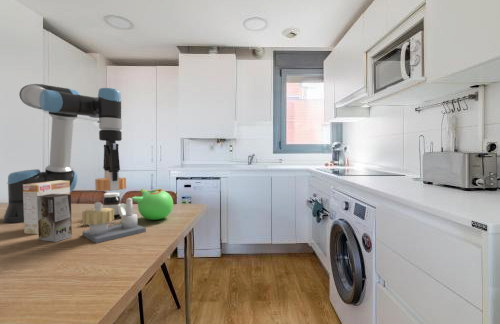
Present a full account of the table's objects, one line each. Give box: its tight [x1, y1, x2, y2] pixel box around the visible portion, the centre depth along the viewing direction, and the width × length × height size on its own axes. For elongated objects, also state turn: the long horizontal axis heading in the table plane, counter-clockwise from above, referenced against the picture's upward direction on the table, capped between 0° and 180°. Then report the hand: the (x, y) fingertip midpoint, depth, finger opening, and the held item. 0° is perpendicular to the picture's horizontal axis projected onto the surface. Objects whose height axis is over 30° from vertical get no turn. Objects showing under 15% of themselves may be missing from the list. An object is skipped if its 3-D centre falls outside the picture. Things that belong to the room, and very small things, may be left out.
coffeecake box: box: [23, 180, 71, 235], centre depth 108 cm, size 15×7×20 cm, turn 168°
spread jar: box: [102, 192, 126, 219], centre depth 129 cm, size 12×11×12 cm
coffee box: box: [37, 193, 73, 243], centre depth 96 cm, size 9×6×16 cm
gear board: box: [81, 197, 147, 244], centre depth 101 cm, size 14×20×13 cm
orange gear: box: [95, 176, 127, 192], centre depth 99 cm, size 10×10×4 cm
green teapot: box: [130, 188, 174, 221], centre depth 124 cm, size 18×17×15 cm
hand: (111, 188), depth 100 cm, fingers closed on orange gear, 10 cm apart
